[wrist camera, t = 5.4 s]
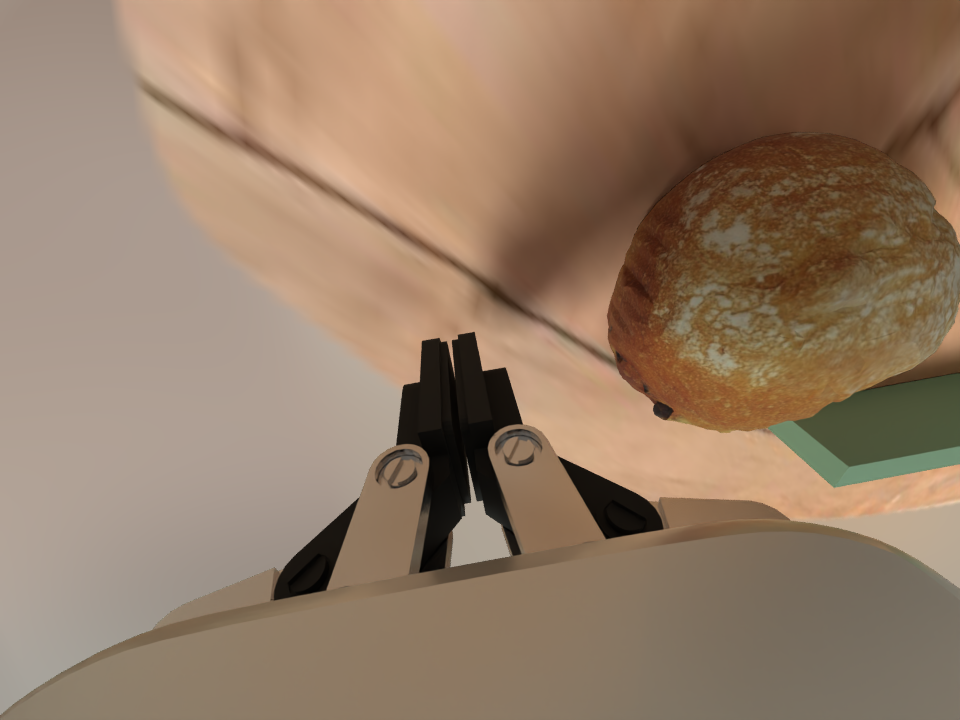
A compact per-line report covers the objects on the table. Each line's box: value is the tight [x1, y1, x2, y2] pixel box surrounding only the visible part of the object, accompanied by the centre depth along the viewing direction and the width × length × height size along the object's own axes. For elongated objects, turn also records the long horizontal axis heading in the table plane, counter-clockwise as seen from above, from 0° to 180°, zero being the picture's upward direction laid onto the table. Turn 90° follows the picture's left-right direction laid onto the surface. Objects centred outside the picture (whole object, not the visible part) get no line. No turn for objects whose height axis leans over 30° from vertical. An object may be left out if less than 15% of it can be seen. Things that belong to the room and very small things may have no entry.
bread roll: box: [607, 132, 960, 433], centre depth 12 cm, size 10×10×8 cm
